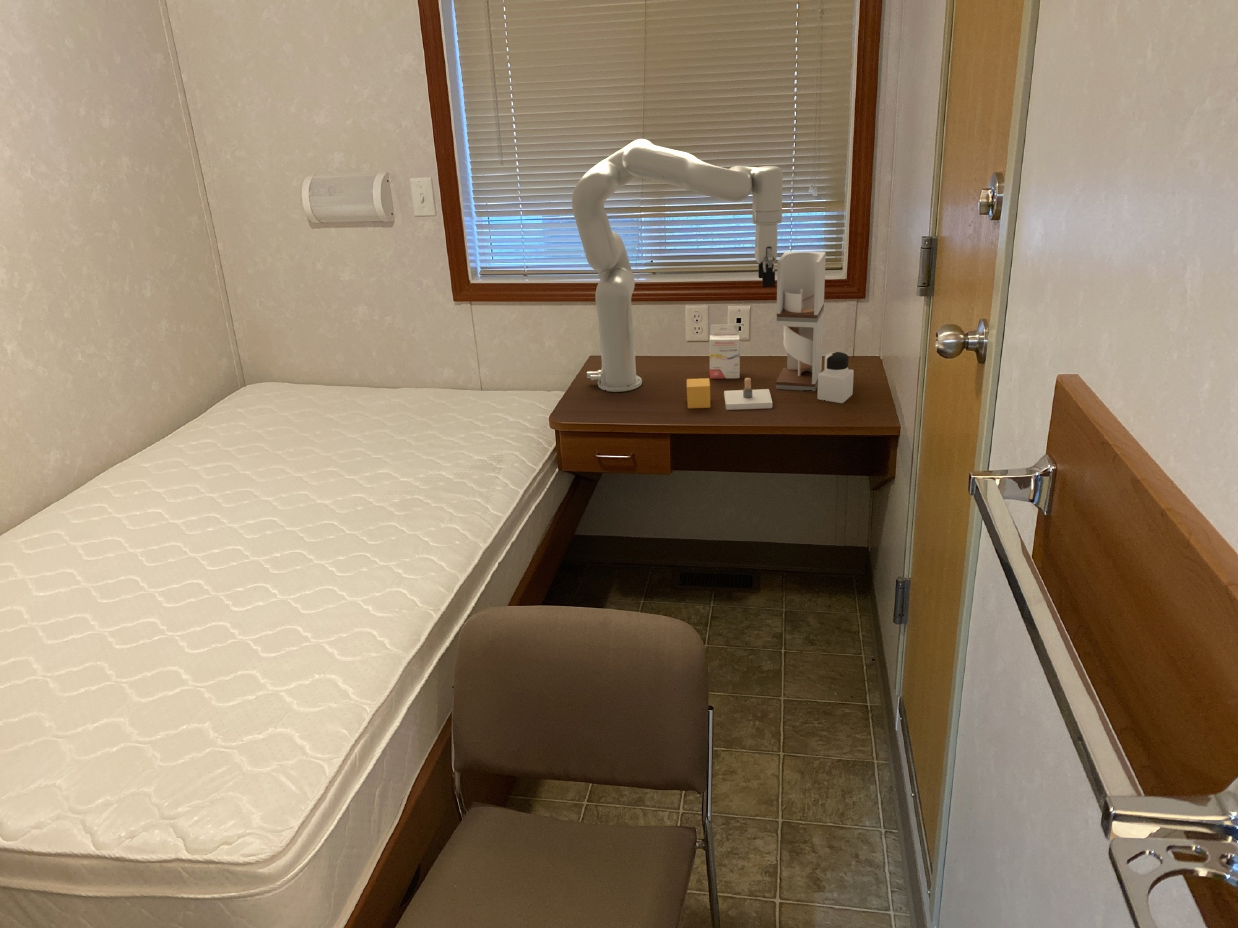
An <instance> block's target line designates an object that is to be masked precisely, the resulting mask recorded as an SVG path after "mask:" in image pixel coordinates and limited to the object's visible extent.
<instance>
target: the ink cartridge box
mask: <svg viewBox="0 0 1238 928" xmlns="http://www.w3.org/2000/svg"><path fill="white" fill-rule="evenodd" d="M709 326H710V327H709V329H710V334H709V380H710V379H740V376H741V374H740V372H741V370H740V368H741V364H740V363H741V362H740V361H741V358H740V357H741V353H740V352H741V350H740V348H741V342H740V341H741V340H740V339H741V337H740V333H739V331H740V330H739V329H740V326H739V323H726V324H723V323H722V324H720V323H719V324H710V325H709ZM723 328H725V329H723ZM721 329H723V330H721ZM726 329H727V330H726ZM728 329H729V330H728Z"/></svg>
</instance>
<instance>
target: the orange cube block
mask: <svg viewBox="0 0 1238 928" xmlns="http://www.w3.org/2000/svg"><path fill="white" fill-rule="evenodd" d="M710 382H711V381H710V377H706V378H705V377H703V378H687V379H686V400H687V409H704V408H705V409H706V408H707V409H709V408H711V383H710Z"/></svg>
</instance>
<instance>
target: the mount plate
mask: <svg viewBox="0 0 1238 928" xmlns="http://www.w3.org/2000/svg"><path fill="white" fill-rule="evenodd" d="M723 391H724V392H723V396H724V397H723V398H724V404H725V410H726V411H728V410H729V411H730V410H731V411H733V410H734V411H735V410H755V409H756V410H757V409H772V408H773V400H772V395H771V392H770V389H769V388H766V389H765V388H762V389H761V388H760V389H753V388H752V378H751V377H745V378H744V388H743V389H739V390H736V389H735V390H723Z"/></svg>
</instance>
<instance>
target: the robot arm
mask: <svg viewBox="0 0 1238 928" xmlns="http://www.w3.org/2000/svg"><path fill="white" fill-rule="evenodd" d="M783 177H784V176H783V169H782V168H781V167H779V166H776V165H765V166H764V165H763V166H758V167H755V166H743V165H733V166H731V167H730V168H725V167H722V166H721V167H720V166H717V165H714V164H710V163H708V162H705V161H703V160H701V159H698V157H696V156H695V155H693V154H691V153H689V152H685V151H681V150H677V149H676V150H675V149H672V148H669V147H664V146H660V145H657V144H656V145H655V144H654V143H653V142H651V141H650V140H648V139H645V138H639V139H635V140H633V141H632V142H630V143H629V144H627V145H626V146H624V147H623V148H621V149H619V150H617V151H616V152H614V153H613V154H611V155H609V156H607V158H605V159H603V160H601V161H600V162H597V164H595V165H594V166H593V167H591V168H590V169H589V170H588V171H586V172H585V174H584V175H583V176H582V177H581V178H580V179H579V181H578V182H577V183H576V185H575V187H574V189H573V190H572V191H573V192H572V194H571V195H572V196H571V209H572V212H573V216H574V220H575V221H574V222H575V224H576V227H577V231H578V235H579V238H580V241H581V245H582V248H583V251H584V254H585V258H586V261H587V263H588V265H589V266H590V267H591V268H592V269H593V270H594V271H595V272H596V271H597V274H598V276H599V282H598V283H597V286H596V290H595V297H594V298H595V299H594V300H595V306H596V313H597V322H598V331H599V342H600V355H601V356H600V358H601V369H598V370H596V371H590V370H589V371H586V378H587V379H590V381H597V386H598V388H599V389H600V390H602V391H605V390H606V391H605V392H613V393H619V392H620V393H621V392H628V391H633V390H635V389H638V388H639V387H641V385H642V384H643V379H642V378H641V377H640V376H639V375H637V370H636V369H637V367H636V353H635V352H636V351H635V333H634V319H633V317H634V316H633V309H632V307H633V306H632V295H633V293H634V290H635V286H636V284H635V283H636V282H635V281H636V280H635V276H634V274H633V273H634V272H633V270H632V266H631V262H630V259H629V257H628V253H627V249H626V246H625V244H624V241H623V239H622V238H621V236H620V235H619V234H618V233H617V232H615V231H614V230H612V228H611V224H610V221H609V217H608V214H607V212H606V210H605V202H606V201H607V199H609V198H611V197H612V196H613V195H614V193H615V192H616V191H618V190H619V189H621V188H622V187H624V186H626V185H627V184H629V183H631V182H632V181H634V180H636V179H637V178H640V179H644V180H648V181H654V182H658V183H663V184H667V185H670V186H675V187H679V188H682V189H684V190H686V191H691V192H694V193H697V194H700V195H703V196H706V197H711V198H714V199H719V200H722V201H728V202H733V203H736V202H742V201H743V200H745V199H747V198H748V197H749V195H752V208H751V209H752V212H751V213H752V214H751V215H752V216H751V217H752V220H751V221H752V224H753V225H755V232H754V233H755V235H754V239H755V241H754V259H755V261H756V262H757V264H758V275H757V276H758V278H759V279H762V281H761V283H762V284H761V285H762V288H774V287H776V270H775V263H776V262H777V258H778V257H777V256H778V225H779V224H781V223H783V222H782V220H783Z"/></svg>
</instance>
